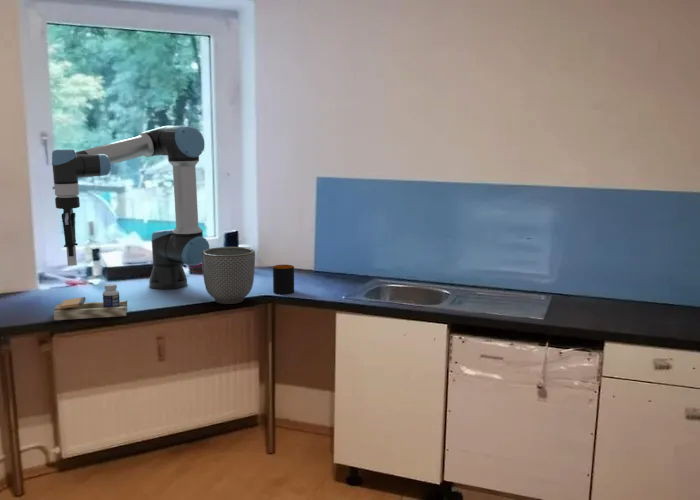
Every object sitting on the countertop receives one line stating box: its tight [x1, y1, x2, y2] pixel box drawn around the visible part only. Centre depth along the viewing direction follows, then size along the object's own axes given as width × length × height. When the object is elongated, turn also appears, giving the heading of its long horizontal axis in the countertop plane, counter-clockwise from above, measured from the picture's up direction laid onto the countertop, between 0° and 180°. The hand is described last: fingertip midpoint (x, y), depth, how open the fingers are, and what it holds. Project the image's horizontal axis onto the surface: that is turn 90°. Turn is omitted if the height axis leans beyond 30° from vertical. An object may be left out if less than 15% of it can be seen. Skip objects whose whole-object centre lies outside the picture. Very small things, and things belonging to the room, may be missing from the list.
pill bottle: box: [102, 283, 121, 308], centre depth 240 cm, size 5×5×10 cm
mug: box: [272, 264, 295, 296], centre depth 274 cm, size 8×12×10 cm
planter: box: [201, 246, 256, 305], centre depth 257 cm, size 20×20×19 cm
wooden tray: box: [53, 300, 128, 321], centre depth 239 cm, size 23×10×4 cm, turn 105°
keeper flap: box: [60, 296, 86, 309], centre depth 237 cm, size 7×9×1 cm
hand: (72, 265), depth 235 cm, fingers closed
